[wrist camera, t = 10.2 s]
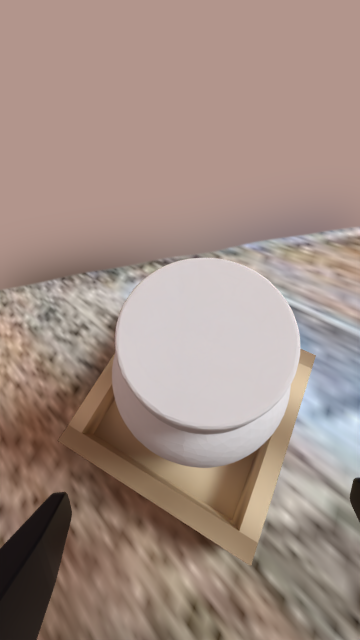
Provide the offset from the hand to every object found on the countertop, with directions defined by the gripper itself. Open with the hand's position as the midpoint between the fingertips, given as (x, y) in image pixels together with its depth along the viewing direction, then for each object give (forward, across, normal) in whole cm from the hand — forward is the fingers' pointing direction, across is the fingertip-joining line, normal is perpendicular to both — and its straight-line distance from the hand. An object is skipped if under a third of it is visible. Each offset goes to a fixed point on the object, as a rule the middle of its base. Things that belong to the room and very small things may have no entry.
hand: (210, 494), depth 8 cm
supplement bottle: (+10, 0, +4) cm, 10 cm away
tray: (+10, 0, +4) cm, 11 cm away
